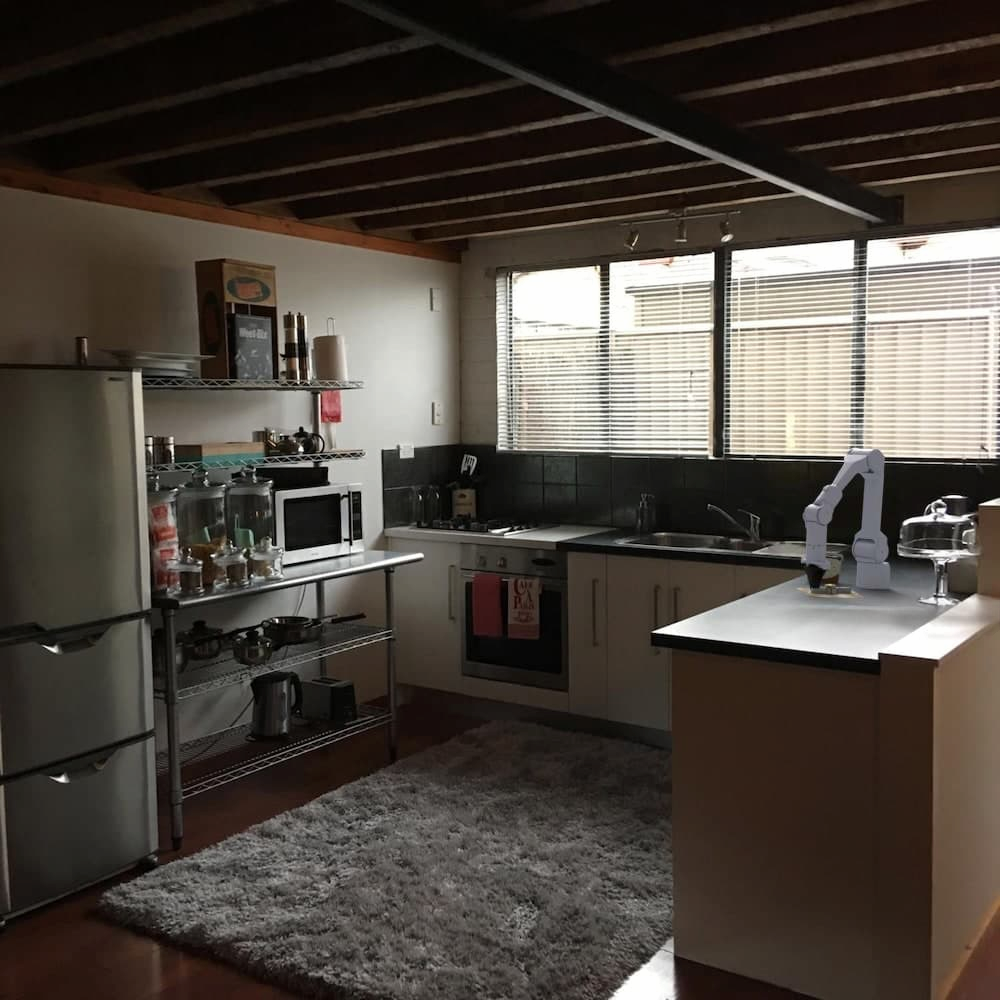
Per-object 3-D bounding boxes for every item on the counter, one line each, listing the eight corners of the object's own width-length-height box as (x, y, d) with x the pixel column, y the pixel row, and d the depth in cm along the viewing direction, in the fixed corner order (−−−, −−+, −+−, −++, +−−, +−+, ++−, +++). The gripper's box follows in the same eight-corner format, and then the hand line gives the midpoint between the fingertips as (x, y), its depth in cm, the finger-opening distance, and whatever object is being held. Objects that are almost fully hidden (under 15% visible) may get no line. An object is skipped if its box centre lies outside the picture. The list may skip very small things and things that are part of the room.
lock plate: (849, 592, 330) (850, 581, 330) (864, 601, 314) (865, 589, 314) (796, 591, 331) (797, 580, 330) (809, 600, 315) (809, 588, 314)
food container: (838, 583, 347) (840, 552, 347) (843, 586, 341) (844, 554, 341) (799, 582, 349) (800, 551, 348) (803, 585, 343) (804, 553, 342)
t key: (846, 591, 325) (846, 586, 325) (853, 593, 321) (853, 588, 321) (809, 592, 323) (809, 586, 323) (815, 594, 319) (815, 589, 319)
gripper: (792, 542, 328) (790, 586, 329) (815, 548, 314) (813, 594, 315) (813, 541, 329) (812, 586, 330) (837, 547, 315) (836, 594, 316)
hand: (814, 590), depth 323 cm, fingers closed
